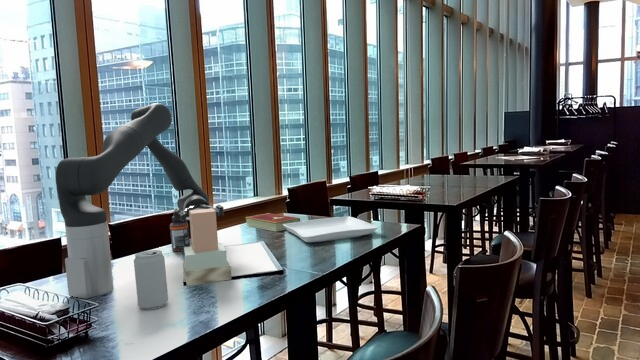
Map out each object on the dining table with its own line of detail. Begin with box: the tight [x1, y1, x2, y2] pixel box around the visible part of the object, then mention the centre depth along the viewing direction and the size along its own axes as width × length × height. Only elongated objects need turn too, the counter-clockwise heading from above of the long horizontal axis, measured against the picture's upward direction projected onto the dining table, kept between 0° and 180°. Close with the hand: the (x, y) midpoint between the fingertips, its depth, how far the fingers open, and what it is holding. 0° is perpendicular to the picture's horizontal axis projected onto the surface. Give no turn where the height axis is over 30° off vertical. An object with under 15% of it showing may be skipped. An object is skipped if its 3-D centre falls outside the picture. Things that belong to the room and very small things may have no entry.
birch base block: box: [182, 260, 232, 287], centre depth 126 cm, size 11×11×4 cm
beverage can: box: [133, 249, 169, 310], centre depth 106 cm, size 6×6×12 cm
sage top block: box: [183, 242, 228, 271], centre depth 126 cm, size 10×10×4 cm
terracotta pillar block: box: [189, 208, 219, 252], centre depth 125 cm, size 6×6×10 cm
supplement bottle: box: [169, 215, 191, 252], centre depth 159 cm, size 6×6×11 cm
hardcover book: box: [244, 212, 301, 233], centre depth 192 cm, size 12×21×4 cm, turn 42°
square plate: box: [283, 215, 379, 243], centre depth 172 cm, size 27×27×4 cm
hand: (200, 216), depth 136 cm, fingers open, 8 cm apart
